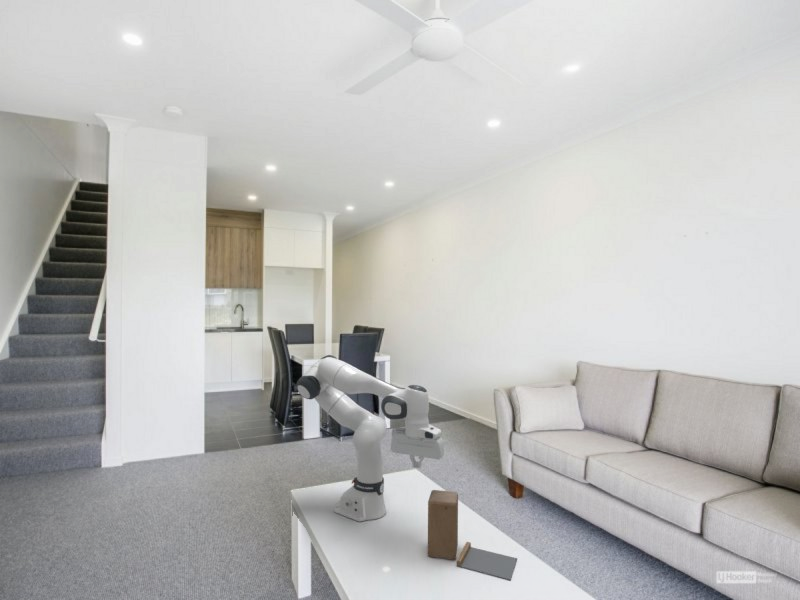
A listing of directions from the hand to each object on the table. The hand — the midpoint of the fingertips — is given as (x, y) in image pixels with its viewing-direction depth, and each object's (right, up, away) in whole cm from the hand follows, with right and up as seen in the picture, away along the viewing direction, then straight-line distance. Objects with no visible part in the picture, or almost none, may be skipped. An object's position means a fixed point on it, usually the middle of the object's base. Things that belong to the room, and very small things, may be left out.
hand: (416, 467), depth 159 cm
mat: (+24, -28, -12) cm, 39 cm away
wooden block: (+9, -29, -5) cm, 30 cm away
